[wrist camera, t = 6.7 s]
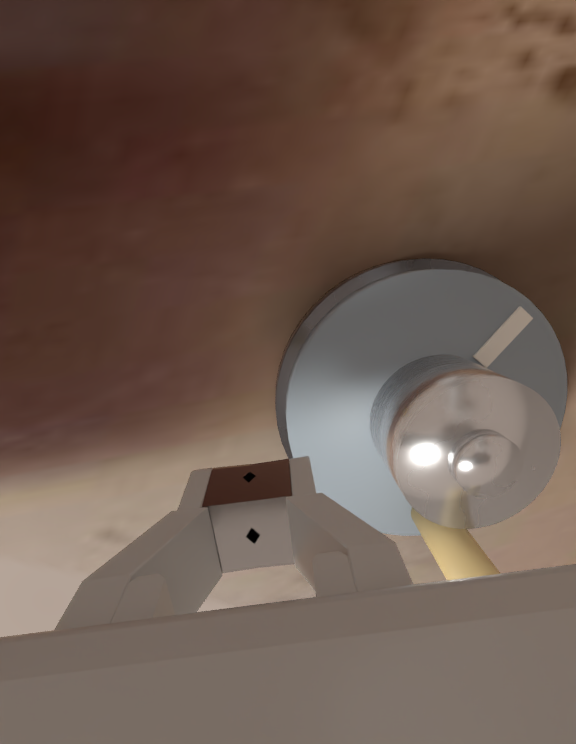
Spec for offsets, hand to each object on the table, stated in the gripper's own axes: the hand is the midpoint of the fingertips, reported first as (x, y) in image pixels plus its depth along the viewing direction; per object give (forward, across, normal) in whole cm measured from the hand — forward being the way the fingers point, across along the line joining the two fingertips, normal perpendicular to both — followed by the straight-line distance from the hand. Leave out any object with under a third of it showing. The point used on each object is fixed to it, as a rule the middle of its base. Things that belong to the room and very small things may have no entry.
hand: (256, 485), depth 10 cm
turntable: (+6, -7, +1) cm, 9 cm away
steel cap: (+5, -7, +1) cm, 8 cm away
